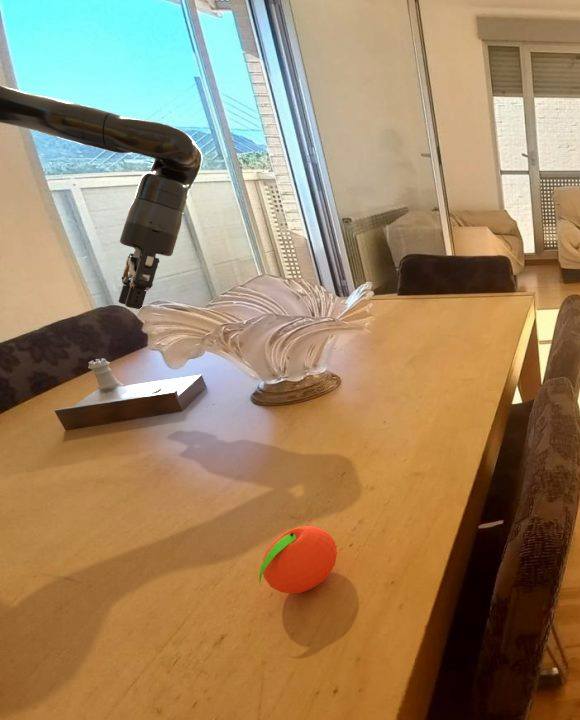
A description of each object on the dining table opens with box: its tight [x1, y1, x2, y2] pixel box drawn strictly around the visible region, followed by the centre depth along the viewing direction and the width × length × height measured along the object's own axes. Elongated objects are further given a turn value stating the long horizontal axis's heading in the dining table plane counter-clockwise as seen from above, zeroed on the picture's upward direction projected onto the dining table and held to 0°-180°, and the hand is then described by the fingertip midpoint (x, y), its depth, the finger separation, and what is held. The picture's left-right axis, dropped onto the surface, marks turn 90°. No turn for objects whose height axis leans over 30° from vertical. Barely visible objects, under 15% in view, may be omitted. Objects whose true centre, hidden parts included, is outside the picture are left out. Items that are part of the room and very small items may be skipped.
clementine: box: [258, 525, 338, 595], centre depth 52 cm, size 8×7×7 cm
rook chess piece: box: [87, 358, 126, 390], centre depth 101 cm, size 4×4×8 cm
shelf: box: [54, 374, 208, 431], centre depth 96 cm, size 18×12×4 cm, turn 111°
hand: (129, 306), depth 93 cm, fingers open, 8 cm apart
